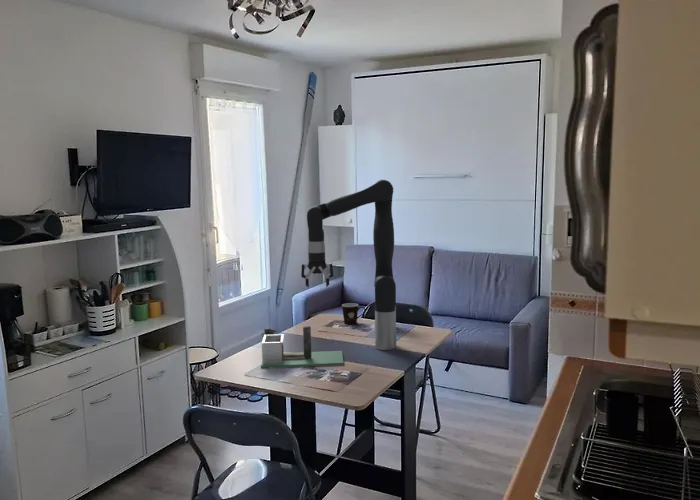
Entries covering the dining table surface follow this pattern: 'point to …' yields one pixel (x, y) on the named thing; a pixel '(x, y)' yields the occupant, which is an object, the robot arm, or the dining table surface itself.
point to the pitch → (310, 360)
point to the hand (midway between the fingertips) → (317, 286)
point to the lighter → (269, 332)
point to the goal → (272, 349)
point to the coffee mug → (351, 313)
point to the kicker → (306, 345)
